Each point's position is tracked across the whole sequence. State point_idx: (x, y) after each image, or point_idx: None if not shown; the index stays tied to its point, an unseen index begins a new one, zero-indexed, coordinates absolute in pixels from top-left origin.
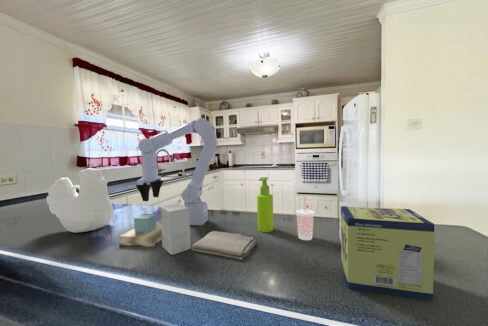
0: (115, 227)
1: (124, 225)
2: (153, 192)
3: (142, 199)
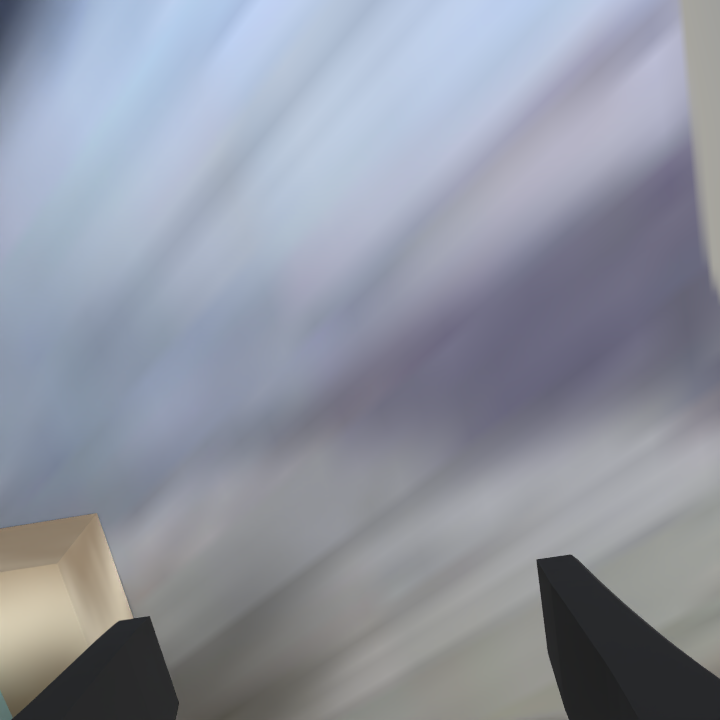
0: (57, 73)
1: (161, 130)
2: (580, 647)
3: (94, 642)
